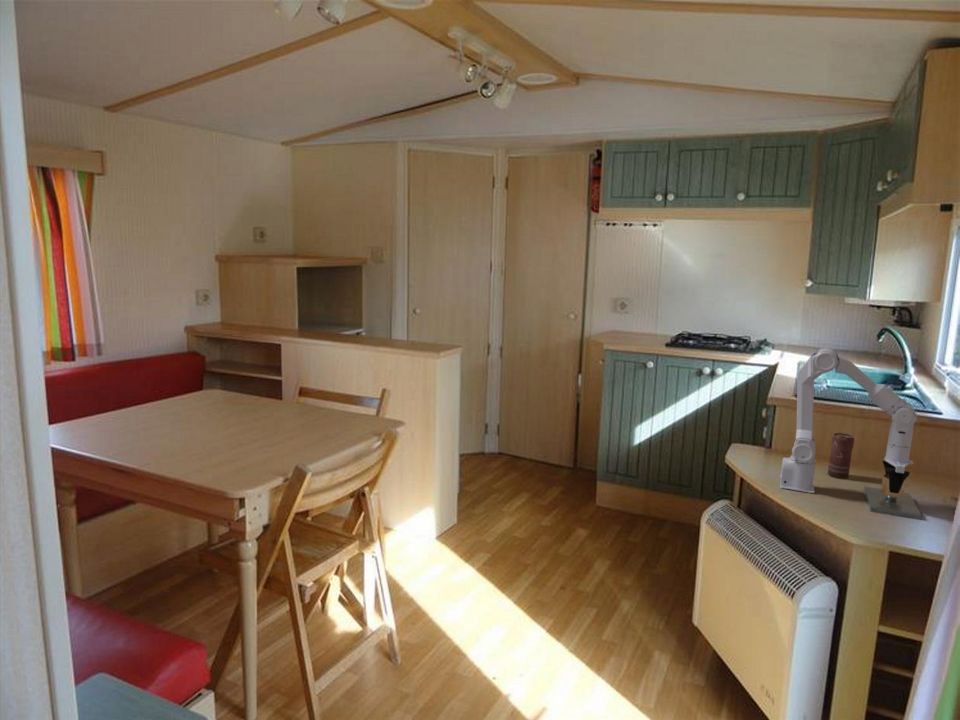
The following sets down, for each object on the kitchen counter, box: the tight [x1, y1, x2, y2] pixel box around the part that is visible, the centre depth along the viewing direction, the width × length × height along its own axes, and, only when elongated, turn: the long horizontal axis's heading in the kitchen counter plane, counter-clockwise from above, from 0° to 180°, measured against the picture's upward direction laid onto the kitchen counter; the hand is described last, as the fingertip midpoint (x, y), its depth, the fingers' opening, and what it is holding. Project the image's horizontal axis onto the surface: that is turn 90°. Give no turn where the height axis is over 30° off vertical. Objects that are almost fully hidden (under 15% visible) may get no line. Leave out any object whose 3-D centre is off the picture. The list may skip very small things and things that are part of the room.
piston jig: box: [862, 486, 922, 521], centre depth 190 cm, size 12×18×6 cm, turn 155°
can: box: [827, 432, 855, 480], centre depth 213 cm, size 6×6×14 cm
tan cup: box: [880, 473, 907, 497], centre depth 190 cm, size 6×6×5 cm
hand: (892, 489), depth 190 cm, fingers closed on tan cup, 5 cm apart
